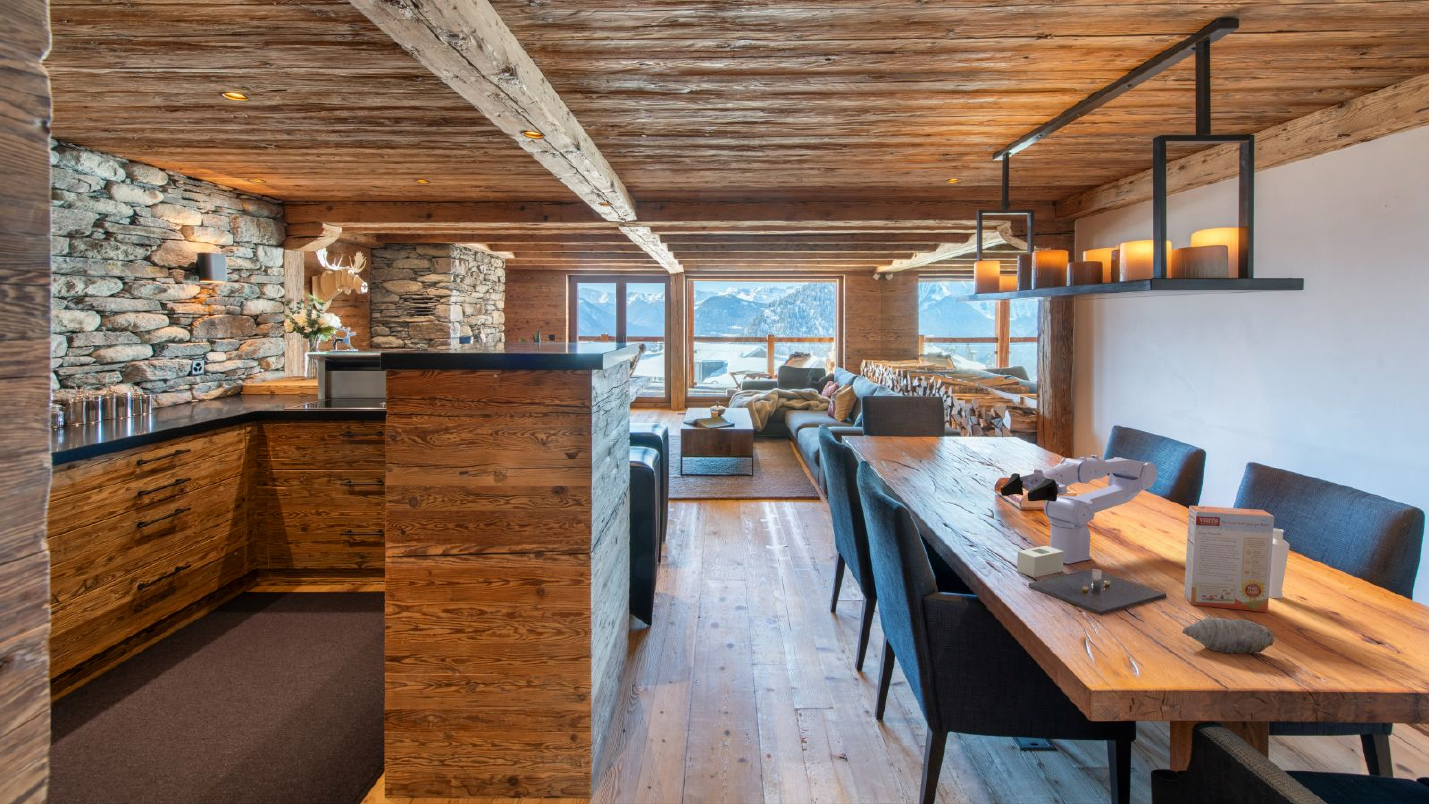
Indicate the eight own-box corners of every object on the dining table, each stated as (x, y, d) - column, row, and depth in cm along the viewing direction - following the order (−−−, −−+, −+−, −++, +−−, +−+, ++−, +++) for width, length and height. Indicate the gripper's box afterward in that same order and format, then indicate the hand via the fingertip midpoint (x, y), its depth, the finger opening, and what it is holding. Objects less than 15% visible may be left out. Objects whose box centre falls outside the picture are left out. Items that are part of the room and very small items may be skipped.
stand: (1092, 571, 173) (1093, 551, 172) (1166, 597, 157) (1167, 575, 156) (1028, 586, 163) (1029, 565, 163) (1100, 615, 147) (1101, 591, 147)
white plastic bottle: (1279, 600, 154) (1285, 534, 153) (1256, 594, 158) (1261, 528, 157) (1290, 597, 156) (1296, 531, 155) (1267, 590, 160) (1272, 526, 159)
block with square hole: (1045, 564, 178) (1046, 545, 177) (1062, 571, 174) (1063, 551, 173) (1016, 571, 174) (1017, 551, 173) (1034, 577, 169) (1034, 557, 169)
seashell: (1174, 623, 137) (1198, 591, 133) (1247, 656, 134) (1273, 625, 131) (1182, 643, 131) (1207, 610, 128) (1259, 678, 128) (1287, 646, 125)
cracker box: (1257, 603, 153) (1264, 508, 151) (1268, 614, 148) (1276, 516, 145) (1182, 595, 158) (1188, 503, 156) (1190, 605, 152) (1197, 510, 150)
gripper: (1025, 460, 184) (989, 474, 178) (1077, 468, 171) (1039, 483, 165) (1028, 486, 185) (992, 501, 179) (1079, 496, 172) (1042, 512, 166)
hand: (1015, 494), depth 172 cm, fingers open, 7 cm apart
